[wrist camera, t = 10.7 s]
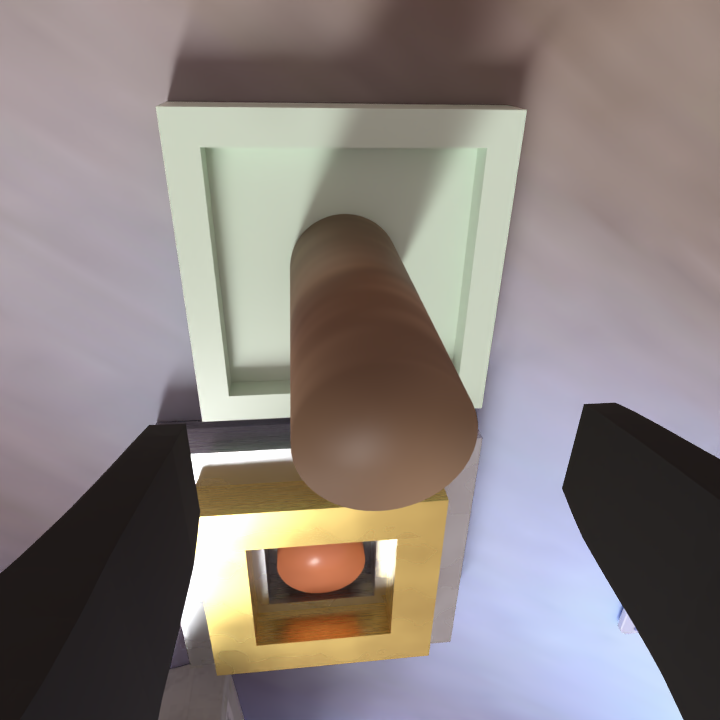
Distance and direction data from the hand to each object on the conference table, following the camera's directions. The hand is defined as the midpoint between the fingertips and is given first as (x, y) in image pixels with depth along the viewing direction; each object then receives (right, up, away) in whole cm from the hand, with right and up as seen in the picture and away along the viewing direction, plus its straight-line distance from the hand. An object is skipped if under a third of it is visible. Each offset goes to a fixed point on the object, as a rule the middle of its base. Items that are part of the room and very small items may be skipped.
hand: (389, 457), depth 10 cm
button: (-2, -6, +14) cm, 15 cm away
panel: (-2, -6, +14) cm, 16 cm away
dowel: (-1, +5, +8) cm, 9 cm away
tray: (-1, +5, +9) cm, 10 cm away
